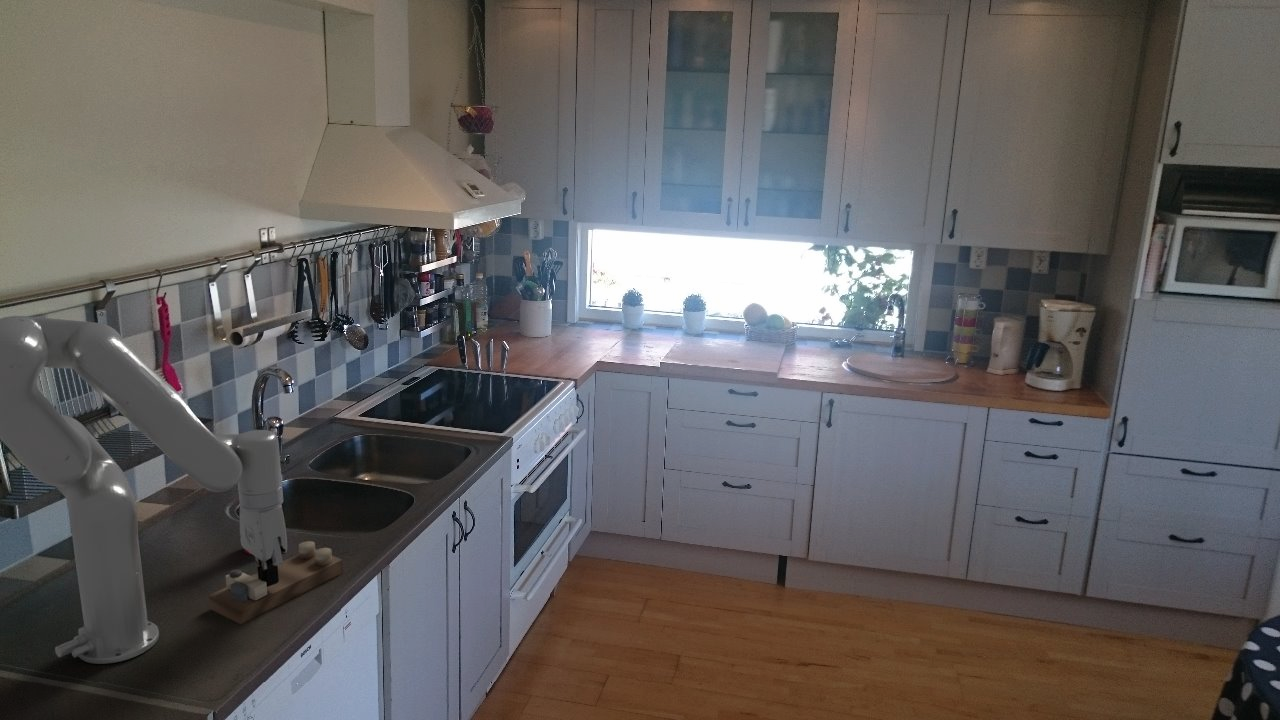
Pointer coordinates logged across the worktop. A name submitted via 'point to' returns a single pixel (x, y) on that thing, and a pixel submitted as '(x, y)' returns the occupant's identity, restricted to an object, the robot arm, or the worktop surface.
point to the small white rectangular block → (247, 583)
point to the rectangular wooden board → (279, 584)
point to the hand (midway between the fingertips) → (268, 583)
